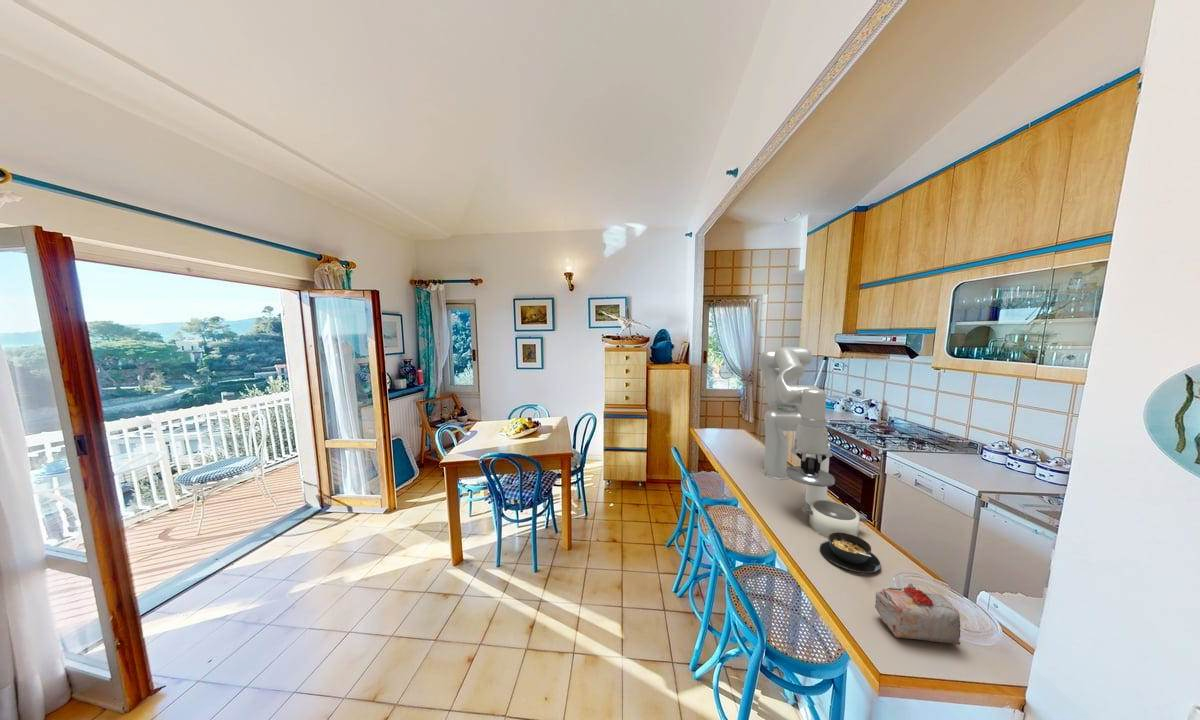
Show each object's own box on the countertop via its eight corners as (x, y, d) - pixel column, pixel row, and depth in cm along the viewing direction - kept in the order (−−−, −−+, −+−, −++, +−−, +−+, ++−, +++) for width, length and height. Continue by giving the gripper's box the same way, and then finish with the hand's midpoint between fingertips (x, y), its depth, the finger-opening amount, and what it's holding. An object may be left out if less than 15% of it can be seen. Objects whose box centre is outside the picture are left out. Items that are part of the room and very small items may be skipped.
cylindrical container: (825, 510, 128) (829, 447, 126) (804, 504, 133) (807, 443, 130) (826, 502, 134) (830, 442, 132) (806, 497, 138) (809, 439, 136)
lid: (782, 466, 132) (783, 449, 132) (826, 471, 127) (827, 453, 127) (791, 483, 118) (792, 463, 117) (841, 489, 113) (842, 468, 112)
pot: (797, 514, 125) (798, 496, 125) (854, 522, 120) (856, 503, 120) (809, 536, 112) (810, 516, 111) (874, 546, 107) (875, 525, 106)
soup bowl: (875, 553, 104) (877, 531, 103) (886, 587, 90) (888, 561, 90) (818, 538, 112) (819, 517, 111) (820, 566, 98) (821, 543, 97)
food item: (894, 642, 74) (897, 601, 73) (870, 612, 82) (873, 575, 81) (964, 650, 72) (968, 609, 71) (933, 619, 80) (937, 581, 79)
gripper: (834, 421, 122) (832, 470, 123) (784, 418, 127) (782, 465, 128) (842, 427, 115) (840, 478, 116) (789, 423, 120) (787, 472, 121)
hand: (810, 471), depth 122 cm, fingers closed on lid, 3 cm apart
